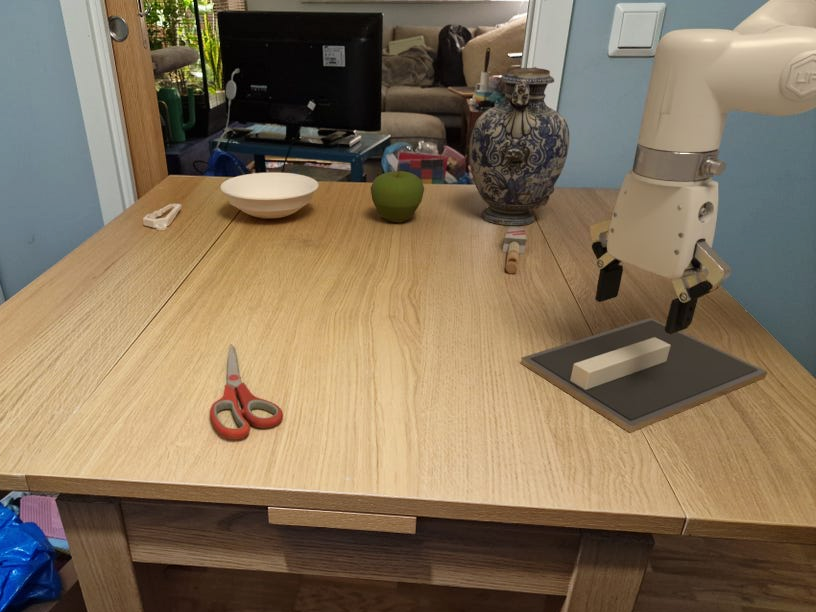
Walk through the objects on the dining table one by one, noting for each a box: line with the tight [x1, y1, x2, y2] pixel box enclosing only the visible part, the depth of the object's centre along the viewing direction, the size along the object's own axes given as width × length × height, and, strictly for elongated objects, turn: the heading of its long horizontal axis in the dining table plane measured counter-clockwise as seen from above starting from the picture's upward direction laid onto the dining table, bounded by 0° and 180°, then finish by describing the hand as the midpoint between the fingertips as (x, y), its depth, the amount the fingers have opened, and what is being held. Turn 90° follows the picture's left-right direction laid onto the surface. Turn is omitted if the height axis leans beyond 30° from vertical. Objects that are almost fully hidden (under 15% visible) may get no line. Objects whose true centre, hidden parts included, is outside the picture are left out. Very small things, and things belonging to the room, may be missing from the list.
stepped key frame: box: [142, 203, 183, 231], centre depth 134 cm, size 13×5×2 cm, turn 176°
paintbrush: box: [501, 226, 527, 274], centre depth 117 cm, size 4×3×20 cm
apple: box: [370, 169, 425, 223], centre depth 132 cm, size 11×10×10 cm
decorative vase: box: [468, 66, 570, 227], centre depth 129 cm, size 21×19×28 cm
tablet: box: [520, 317, 768, 433], centre depth 82 cm, size 24×17×1 cm
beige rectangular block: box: [570, 337, 671, 390], centre depth 80 cm, size 14×2×2 cm, turn 119°
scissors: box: [209, 343, 284, 440], centre depth 78 cm, size 8×21×2 cm, turn 24°
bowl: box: [219, 172, 319, 220], centre depth 136 cm, size 20×20×6 cm
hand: (639, 313), depth 76 cm, fingers open, 9 cm apart
